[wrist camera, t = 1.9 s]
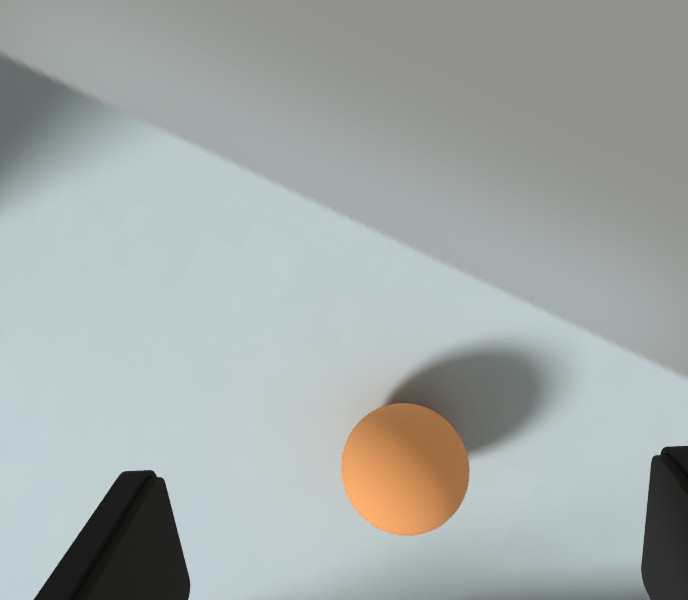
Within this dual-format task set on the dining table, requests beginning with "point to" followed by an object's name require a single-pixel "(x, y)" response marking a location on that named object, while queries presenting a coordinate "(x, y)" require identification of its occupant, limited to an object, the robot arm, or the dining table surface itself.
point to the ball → (405, 469)
